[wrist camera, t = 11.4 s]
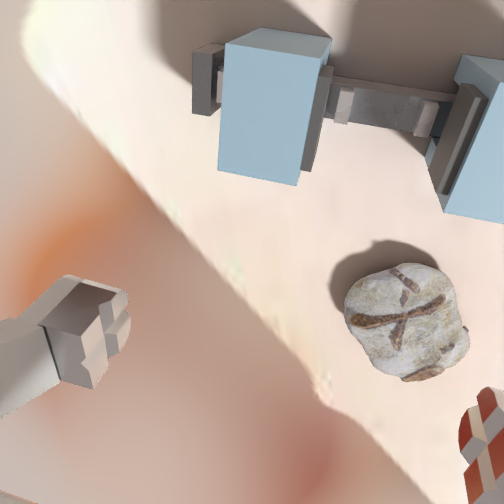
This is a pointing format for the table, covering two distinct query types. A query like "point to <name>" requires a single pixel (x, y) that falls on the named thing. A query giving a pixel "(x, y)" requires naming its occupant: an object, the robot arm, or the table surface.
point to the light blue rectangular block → (472, 144)
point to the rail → (338, 98)
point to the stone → (407, 321)
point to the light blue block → (273, 103)
